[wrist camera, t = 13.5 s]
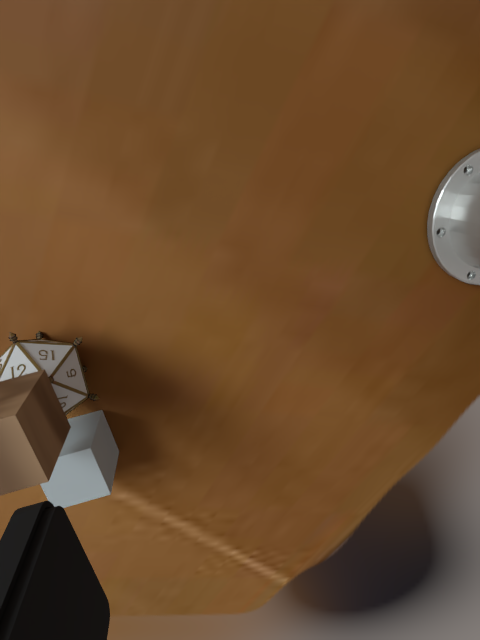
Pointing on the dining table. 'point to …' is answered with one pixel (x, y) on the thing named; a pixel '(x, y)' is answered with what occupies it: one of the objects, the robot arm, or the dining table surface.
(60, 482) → the grey block
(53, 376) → the game die
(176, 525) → the dining table surface
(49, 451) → the walnut block
